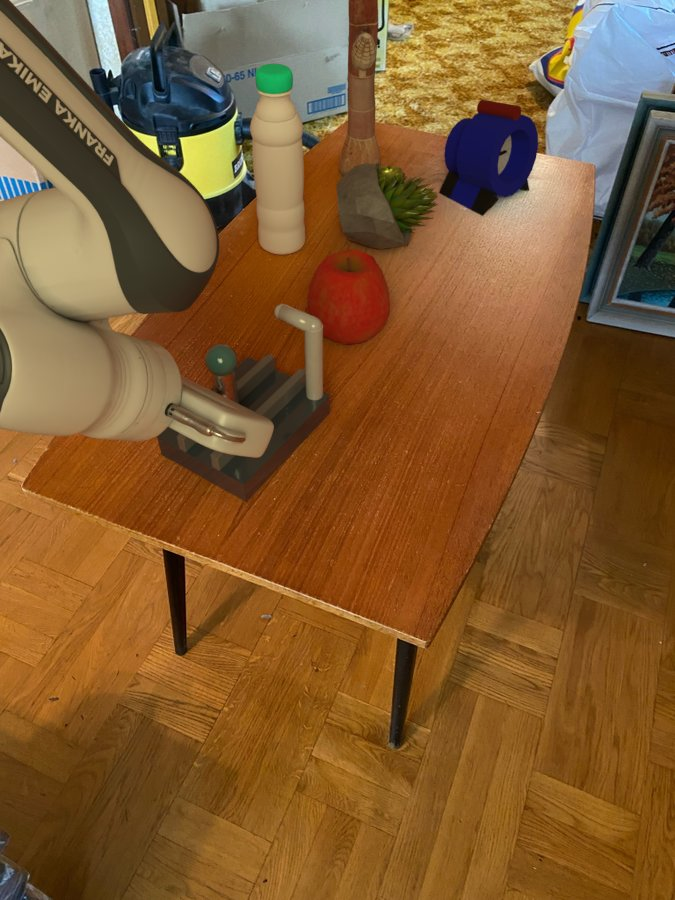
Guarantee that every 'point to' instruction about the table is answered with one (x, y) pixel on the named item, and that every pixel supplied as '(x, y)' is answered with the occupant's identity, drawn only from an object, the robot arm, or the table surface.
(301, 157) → the water bottle
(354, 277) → the apple
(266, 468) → the tap base
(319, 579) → the table surface
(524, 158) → the alarm clock
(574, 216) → the table surface
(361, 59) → the brown carved wooden post
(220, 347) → the tap handle
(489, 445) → the table surface
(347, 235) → the potted plant
